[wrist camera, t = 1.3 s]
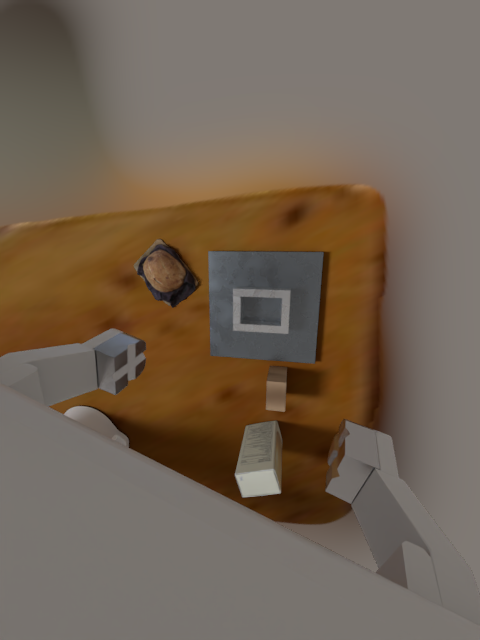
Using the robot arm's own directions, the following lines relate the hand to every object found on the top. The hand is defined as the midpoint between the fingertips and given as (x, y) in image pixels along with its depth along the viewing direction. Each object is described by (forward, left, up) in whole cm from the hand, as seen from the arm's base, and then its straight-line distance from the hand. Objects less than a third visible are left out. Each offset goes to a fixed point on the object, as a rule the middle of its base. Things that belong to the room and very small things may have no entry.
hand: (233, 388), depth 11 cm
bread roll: (+1, +19, -36) cm, 41 cm away
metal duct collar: (-4, +2, -36) cm, 36 cm away
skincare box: (-28, +1, -36) cm, 45 cm away
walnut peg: (-17, -1, -36) cm, 39 cm away
